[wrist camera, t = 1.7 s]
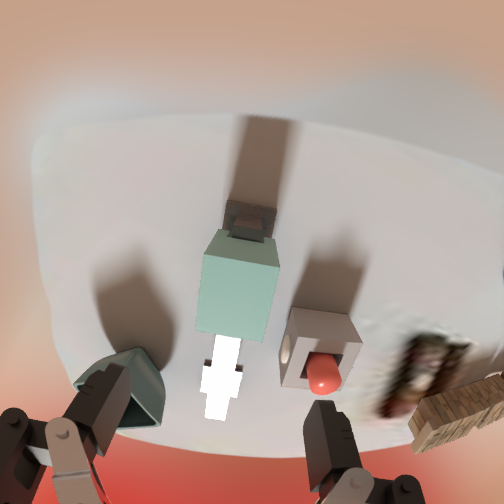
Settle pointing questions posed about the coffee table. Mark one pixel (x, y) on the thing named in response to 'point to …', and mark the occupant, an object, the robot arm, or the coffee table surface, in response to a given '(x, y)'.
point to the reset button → (322, 373)
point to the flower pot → (136, 388)
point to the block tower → (457, 412)
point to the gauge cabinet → (316, 344)
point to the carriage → (237, 287)
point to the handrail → (226, 348)
